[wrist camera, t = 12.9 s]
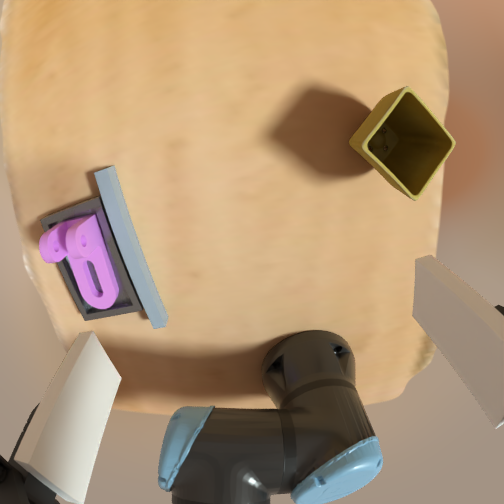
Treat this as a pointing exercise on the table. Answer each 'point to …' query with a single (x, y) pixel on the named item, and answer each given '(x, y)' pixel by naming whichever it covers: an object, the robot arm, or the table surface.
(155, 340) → the table surface
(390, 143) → the flower pot
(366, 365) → the table surface
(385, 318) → the table surface
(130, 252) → the door edge
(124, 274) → the shallow rectangular tray
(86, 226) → the bracket
